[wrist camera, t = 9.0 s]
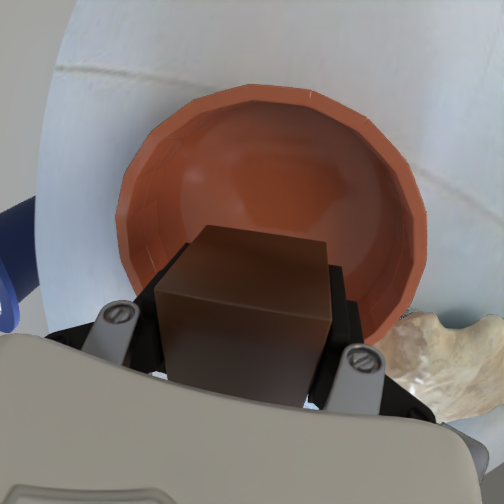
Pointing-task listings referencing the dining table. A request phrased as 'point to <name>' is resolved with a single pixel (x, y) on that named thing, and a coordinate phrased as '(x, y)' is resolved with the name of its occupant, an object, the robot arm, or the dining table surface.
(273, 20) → the dining table surface
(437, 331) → the rock
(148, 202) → the bowl
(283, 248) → the block
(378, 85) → the dining table surface
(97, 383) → the robot arm
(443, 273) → the dining table surface
